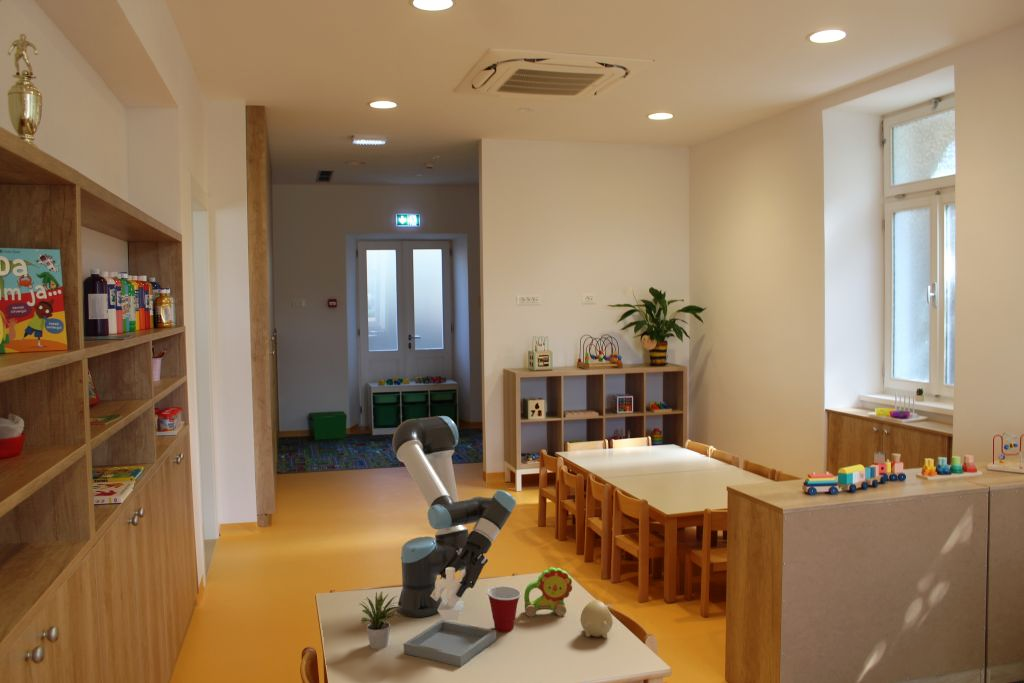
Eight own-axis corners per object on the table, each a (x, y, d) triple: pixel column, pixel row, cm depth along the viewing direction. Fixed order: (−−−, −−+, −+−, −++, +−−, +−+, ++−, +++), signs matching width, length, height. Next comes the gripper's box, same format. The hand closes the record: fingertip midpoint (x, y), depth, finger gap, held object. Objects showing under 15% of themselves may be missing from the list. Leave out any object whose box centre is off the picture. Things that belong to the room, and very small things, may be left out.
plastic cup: (518, 636, 249) (517, 598, 249) (484, 634, 252) (483, 596, 251) (525, 622, 260) (524, 586, 260) (492, 621, 262) (491, 584, 262)
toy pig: (612, 646, 249) (614, 614, 256) (611, 628, 241) (613, 595, 248) (580, 644, 251) (583, 611, 258) (578, 626, 242) (581, 593, 250)
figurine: (438, 612, 246) (436, 563, 245) (469, 612, 245) (467, 563, 244) (434, 621, 239) (431, 571, 238) (465, 622, 238) (463, 571, 237)
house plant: (373, 662, 234) (371, 606, 233) (343, 649, 243) (341, 596, 242) (410, 645, 245) (408, 592, 244) (380, 634, 254) (378, 582, 253)
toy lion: (525, 617, 264) (524, 571, 264) (524, 611, 270) (523, 566, 269) (573, 615, 265) (572, 570, 264) (571, 609, 270) (570, 564, 270)
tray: (403, 653, 239) (403, 643, 239) (441, 629, 257) (441, 619, 257) (461, 666, 230) (460, 656, 229) (496, 640, 247) (496, 630, 247)
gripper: (510, 549, 244) (470, 617, 234) (468, 537, 259) (429, 600, 249) (496, 536, 240) (454, 604, 230) (455, 523, 255) (414, 587, 245)
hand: (441, 601), depth 239 cm, fingers closed on figurine, 7 cm apart
